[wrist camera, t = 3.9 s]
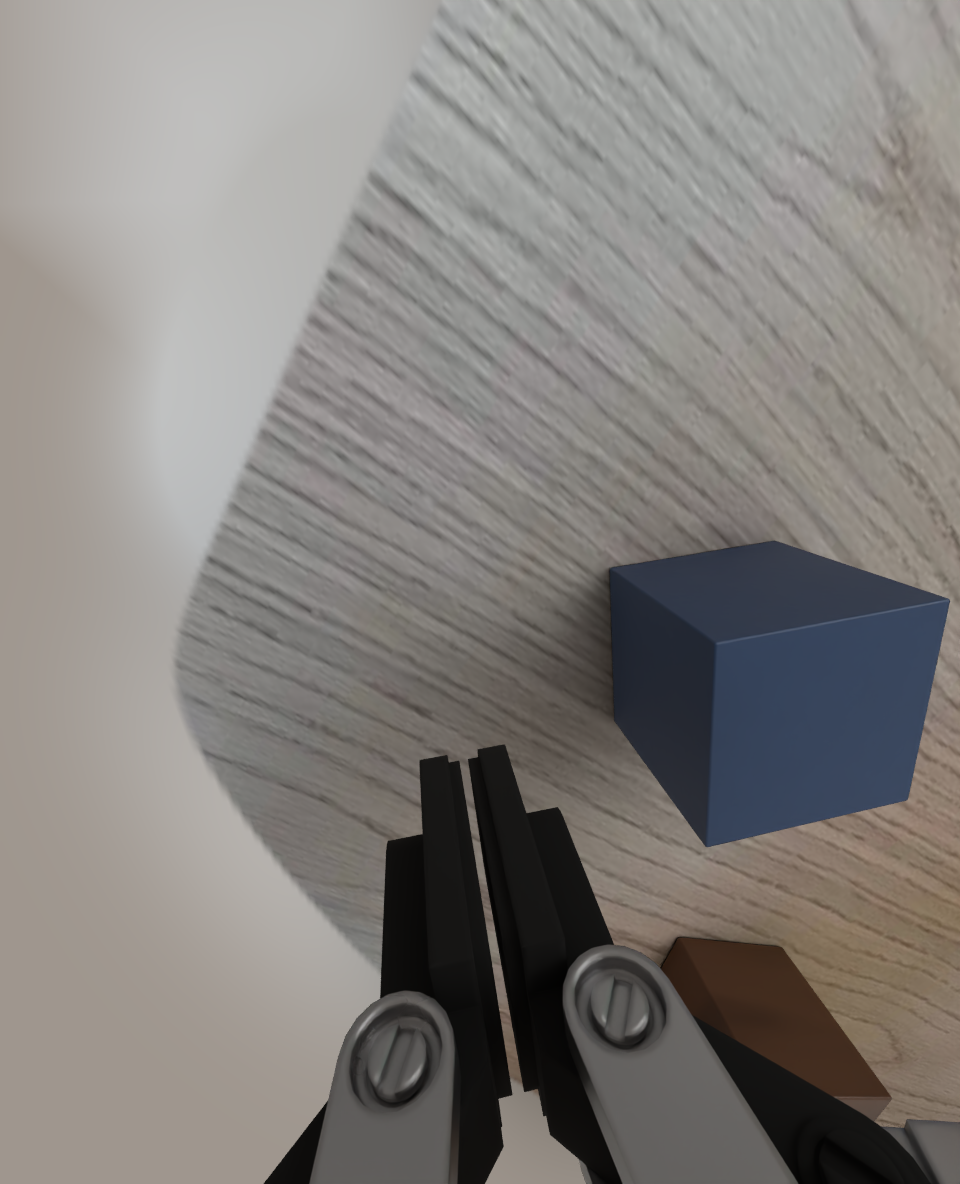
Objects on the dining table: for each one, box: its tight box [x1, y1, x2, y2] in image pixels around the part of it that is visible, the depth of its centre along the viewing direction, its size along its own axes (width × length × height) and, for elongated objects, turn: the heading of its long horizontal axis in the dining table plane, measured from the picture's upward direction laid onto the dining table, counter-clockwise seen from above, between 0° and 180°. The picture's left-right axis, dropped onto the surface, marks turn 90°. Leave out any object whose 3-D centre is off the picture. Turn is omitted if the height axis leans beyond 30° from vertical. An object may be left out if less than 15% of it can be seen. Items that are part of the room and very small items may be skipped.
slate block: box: [610, 541, 950, 847], centre depth 13 cm, size 5×5×5 cm
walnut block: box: [661, 937, 892, 1121], centre depth 19 cm, size 5×5×5 cm
